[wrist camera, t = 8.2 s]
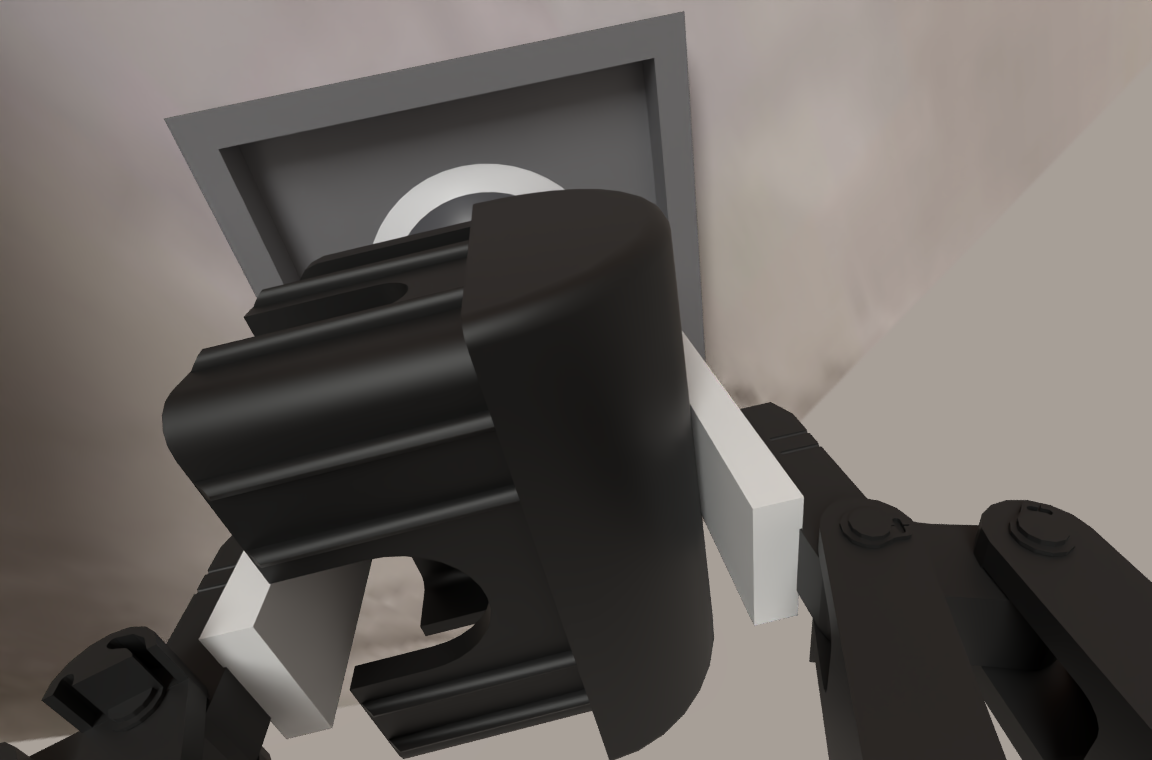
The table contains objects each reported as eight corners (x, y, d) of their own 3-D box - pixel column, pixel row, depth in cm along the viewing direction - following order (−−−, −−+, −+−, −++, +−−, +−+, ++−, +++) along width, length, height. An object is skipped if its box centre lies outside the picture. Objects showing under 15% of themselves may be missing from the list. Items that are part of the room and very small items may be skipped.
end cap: (665, 499, 17) (759, 729, 11) (440, 555, 17) (415, 818, 11) (613, 160, 12) (739, 257, 6) (287, 238, 11) (83, 416, 6)
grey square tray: (374, 473, 25) (365, 506, 23) (198, 112, 17) (164, 118, 15) (692, 398, 25) (709, 425, 23) (662, 17, 18) (684, 11, 16)
